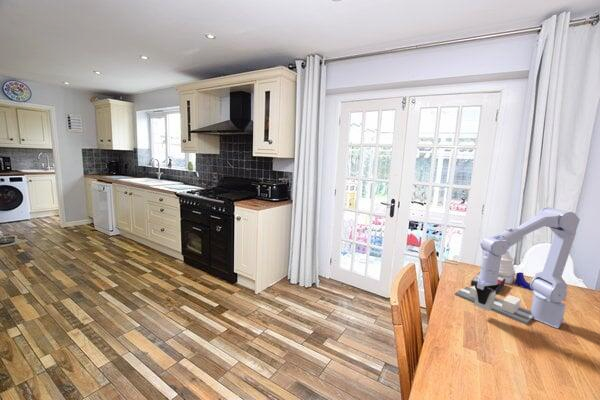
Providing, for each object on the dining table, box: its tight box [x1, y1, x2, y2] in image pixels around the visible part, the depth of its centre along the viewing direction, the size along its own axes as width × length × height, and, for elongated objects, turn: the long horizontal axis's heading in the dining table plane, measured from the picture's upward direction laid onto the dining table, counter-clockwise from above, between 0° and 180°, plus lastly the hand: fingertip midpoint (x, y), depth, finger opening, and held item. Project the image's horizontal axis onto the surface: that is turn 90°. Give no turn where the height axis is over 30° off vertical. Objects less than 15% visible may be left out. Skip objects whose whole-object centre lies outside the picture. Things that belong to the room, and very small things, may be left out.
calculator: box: [470, 271, 506, 295], centre depth 134 cm, size 11×4×15 cm
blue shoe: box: [514, 272, 533, 292], centre depth 133 cm, size 12×4×6 cm, turn 25°
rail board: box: [454, 286, 533, 326], centre depth 116 cm, size 26×12×1 cm, turn 37°
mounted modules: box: [469, 285, 522, 314], centre depth 115 cm, size 16×8×4 cm, turn 37°
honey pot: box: [498, 250, 516, 284], centre depth 142 cm, size 13×13×18 cm
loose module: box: [473, 288, 497, 312], centre depth 105 cm, size 5×4×7 cm
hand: (484, 301), depth 105 cm, fingers closed on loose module, 4 cm apart
